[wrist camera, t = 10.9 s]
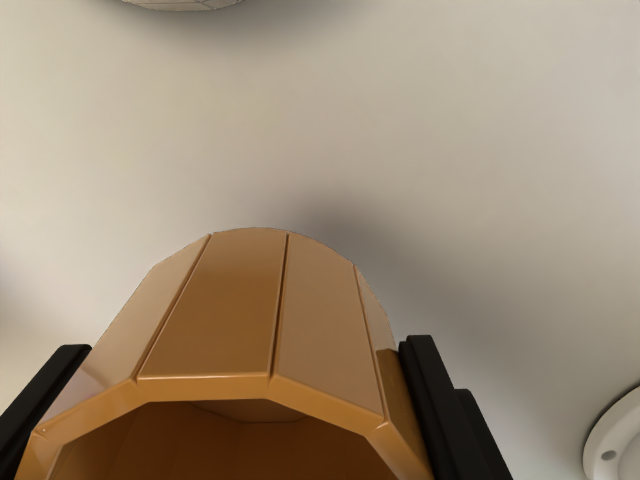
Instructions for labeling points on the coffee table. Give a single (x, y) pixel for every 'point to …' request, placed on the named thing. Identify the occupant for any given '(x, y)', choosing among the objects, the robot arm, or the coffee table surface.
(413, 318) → the coffee table surface
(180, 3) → the serving bowl
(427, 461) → the small bowl
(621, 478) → the robot arm
